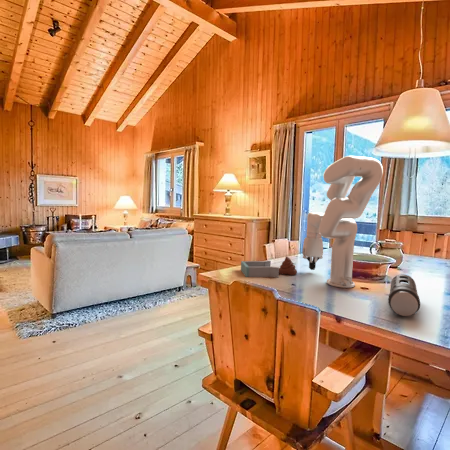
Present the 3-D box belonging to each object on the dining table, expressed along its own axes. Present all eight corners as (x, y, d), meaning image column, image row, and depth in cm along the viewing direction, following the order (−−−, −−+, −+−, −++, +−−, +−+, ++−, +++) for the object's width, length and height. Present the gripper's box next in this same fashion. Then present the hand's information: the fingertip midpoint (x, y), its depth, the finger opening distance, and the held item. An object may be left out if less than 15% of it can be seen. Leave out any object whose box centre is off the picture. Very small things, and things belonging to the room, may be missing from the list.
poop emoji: (277, 274, 165) (277, 257, 164) (278, 271, 173) (279, 254, 172) (296, 276, 162) (297, 258, 161) (296, 272, 170) (297, 255, 170)
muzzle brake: (415, 300, 128) (417, 275, 127) (419, 323, 103) (421, 292, 103) (389, 296, 132) (390, 272, 132) (386, 317, 108) (389, 288, 107)
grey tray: (279, 277, 158) (279, 267, 158) (246, 277, 156) (246, 267, 156) (269, 269, 176) (269, 260, 176) (240, 269, 174) (240, 260, 174)
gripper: (324, 234, 173) (322, 267, 174) (297, 234, 171) (296, 267, 172) (330, 236, 165) (328, 270, 167) (303, 236, 163) (301, 271, 165)
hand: (312, 269), depth 170 cm, fingers closed
